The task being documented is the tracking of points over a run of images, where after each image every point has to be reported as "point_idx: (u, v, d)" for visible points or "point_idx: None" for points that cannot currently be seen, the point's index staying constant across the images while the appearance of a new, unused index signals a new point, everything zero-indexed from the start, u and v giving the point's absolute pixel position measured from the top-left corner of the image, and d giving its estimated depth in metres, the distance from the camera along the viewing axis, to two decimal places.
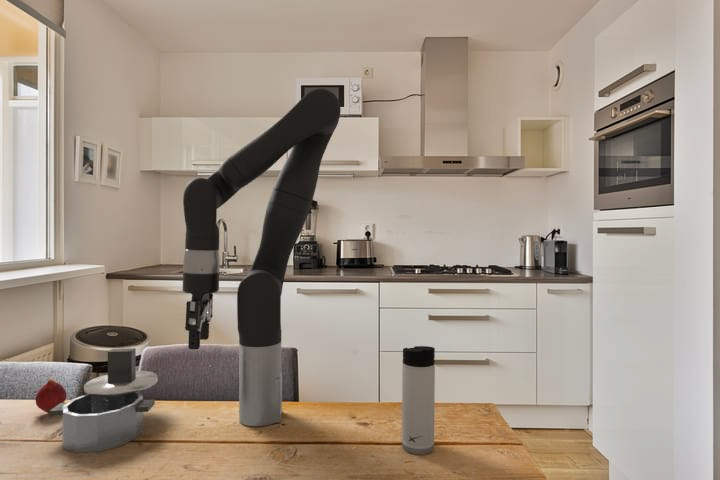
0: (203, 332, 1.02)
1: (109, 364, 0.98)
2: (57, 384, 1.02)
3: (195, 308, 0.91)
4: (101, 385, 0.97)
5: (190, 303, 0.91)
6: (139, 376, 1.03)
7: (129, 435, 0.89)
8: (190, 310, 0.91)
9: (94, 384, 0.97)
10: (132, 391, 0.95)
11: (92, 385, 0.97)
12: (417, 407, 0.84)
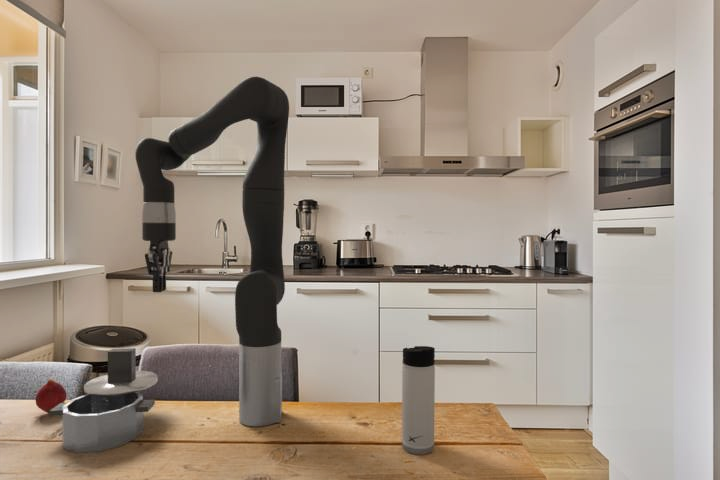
0: None
1: (109, 364, 0.98)
2: (57, 384, 1.02)
3: (153, 260, 1.04)
4: (101, 385, 0.97)
5: (148, 256, 1.03)
6: (139, 376, 1.03)
7: (129, 435, 0.89)
8: (149, 261, 1.04)
9: (94, 384, 0.97)
10: (132, 391, 0.95)
11: (92, 385, 0.97)
12: (417, 407, 0.84)
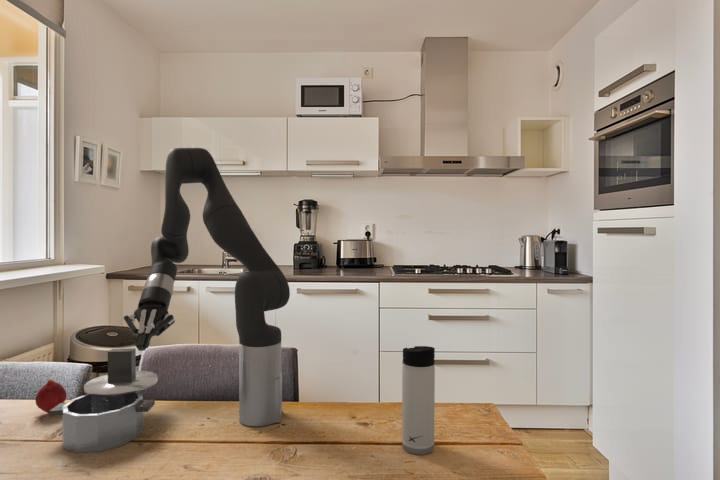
0: None
1: (109, 364, 0.98)
2: (57, 384, 1.02)
3: (125, 321, 1.16)
4: (101, 385, 0.97)
5: None
6: (139, 376, 1.03)
7: (129, 435, 0.89)
8: (127, 324, 1.16)
9: (94, 384, 0.97)
10: (132, 391, 0.95)
11: (92, 385, 0.97)
12: (417, 407, 0.84)
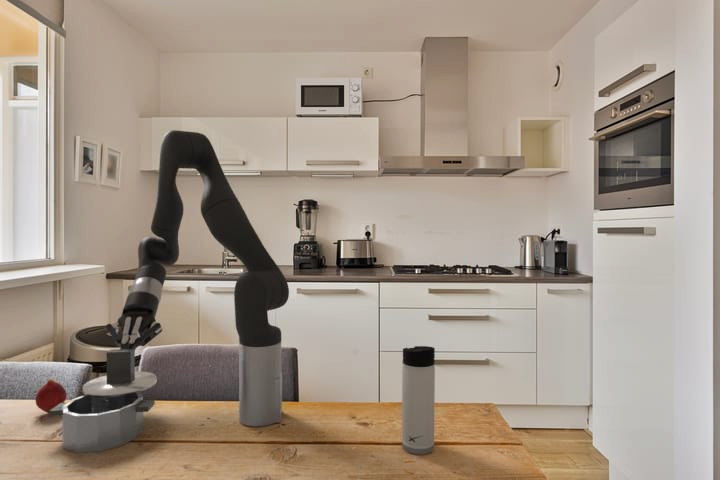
0: None
1: (108, 365, 0.98)
2: (57, 384, 1.02)
3: (108, 330, 1.05)
4: (100, 386, 0.96)
5: None
6: (138, 377, 1.02)
7: (129, 435, 0.89)
8: None
9: (93, 385, 0.97)
10: (131, 392, 0.94)
11: (91, 386, 0.96)
12: (417, 407, 0.84)
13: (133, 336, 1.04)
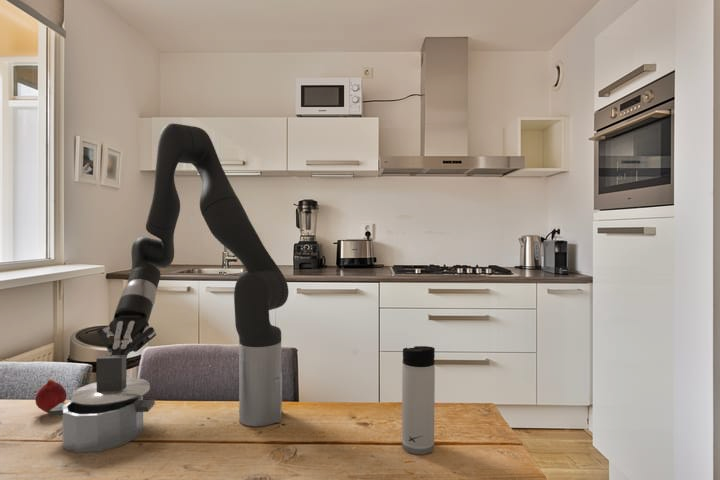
0: None
1: (98, 372, 0.93)
2: (57, 384, 1.02)
3: (99, 335, 1.01)
4: (89, 394, 0.92)
5: None
6: (130, 384, 0.98)
7: (129, 435, 0.89)
8: None
9: (82, 393, 0.92)
10: (122, 400, 0.90)
11: (80, 394, 0.91)
12: (417, 407, 0.84)
13: (125, 341, 1.00)
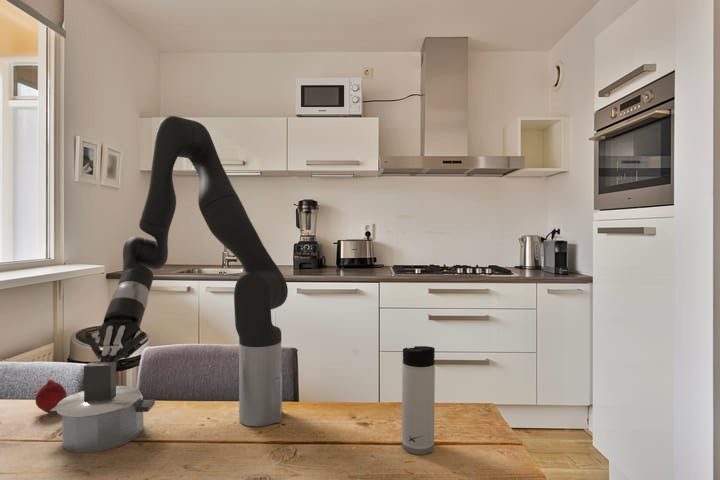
0: None
1: (85, 380, 0.88)
2: (57, 384, 1.02)
3: None
4: (76, 404, 0.87)
5: None
6: (120, 393, 0.93)
7: (129, 435, 0.89)
8: None
9: (69, 403, 0.87)
10: (110, 411, 0.84)
11: (66, 404, 0.86)
12: (417, 407, 0.84)
13: (115, 347, 0.94)
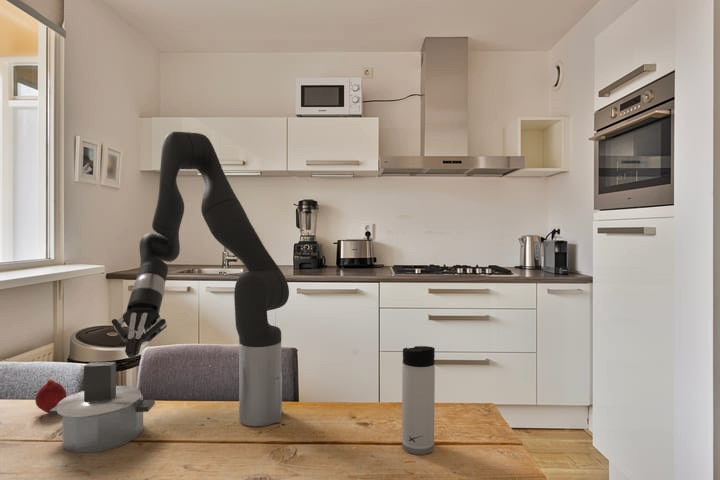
0: None
1: (86, 380, 0.88)
2: (57, 384, 1.02)
3: (113, 325, 1.08)
4: (76, 404, 0.87)
5: None
6: (120, 392, 0.93)
7: (129, 435, 0.89)
8: (115, 329, 1.08)
9: (69, 403, 0.87)
10: (110, 411, 0.84)
11: (66, 404, 0.86)
12: (417, 407, 0.84)
13: (139, 332, 1.07)
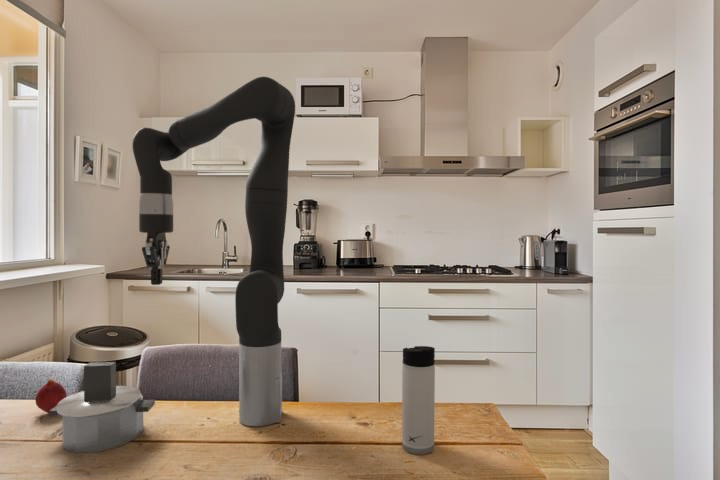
0: None
1: (86, 380, 0.88)
2: (57, 384, 1.02)
3: (151, 253, 1.02)
4: (76, 404, 0.87)
5: (145, 250, 1.02)
6: (120, 392, 0.93)
7: (129, 435, 0.89)
8: (147, 254, 1.03)
9: (69, 403, 0.87)
10: (110, 411, 0.84)
11: (66, 404, 0.86)
12: (417, 407, 0.84)
13: (163, 260, 1.09)
